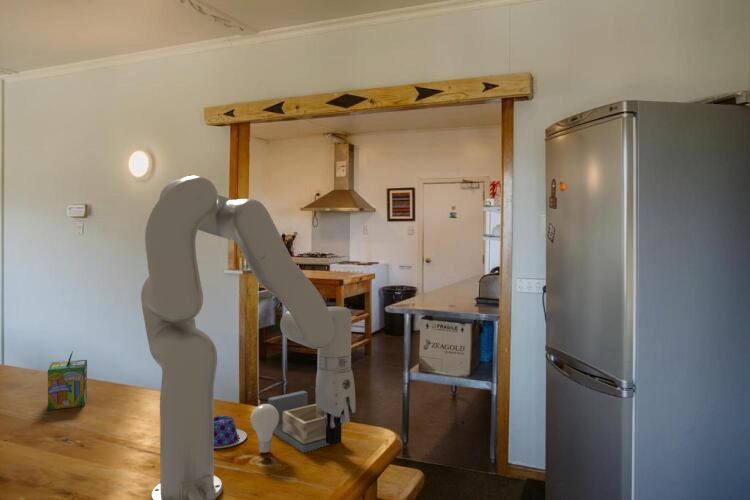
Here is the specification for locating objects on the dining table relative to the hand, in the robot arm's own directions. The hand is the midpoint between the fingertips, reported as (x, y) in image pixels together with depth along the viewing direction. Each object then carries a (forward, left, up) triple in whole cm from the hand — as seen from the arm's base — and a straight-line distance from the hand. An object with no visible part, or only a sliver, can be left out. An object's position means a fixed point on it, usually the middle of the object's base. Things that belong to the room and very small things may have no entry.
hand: (333, 442), depth 115 cm
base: (+13, 0, -3) cm, 13 cm away
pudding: (+23, +17, -3) cm, 29 cm away
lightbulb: (+10, +12, -3) cm, 16 cm away
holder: (+10, 0, -1) cm, 10 cm away
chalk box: (+74, +42, -3) cm, 85 cm away
